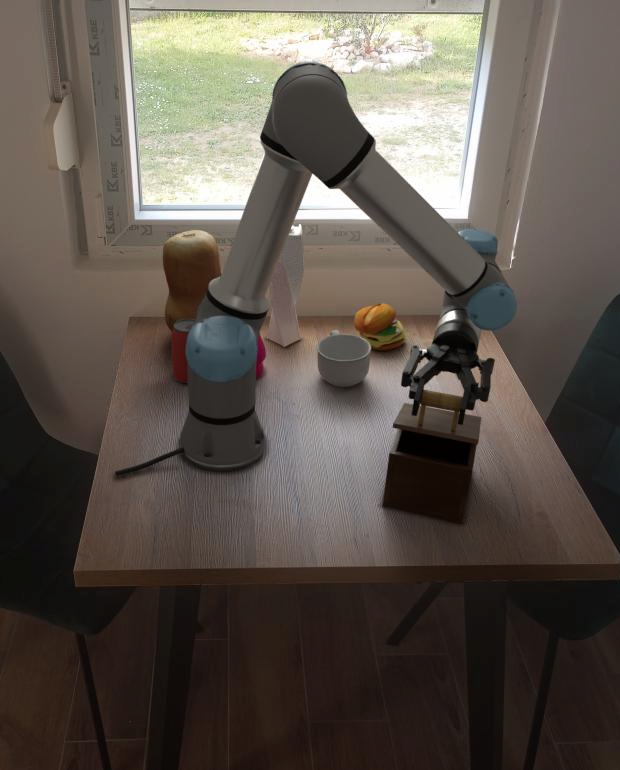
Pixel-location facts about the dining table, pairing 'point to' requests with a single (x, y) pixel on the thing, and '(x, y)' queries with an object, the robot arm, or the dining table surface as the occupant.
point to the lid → (439, 418)
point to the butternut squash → (188, 273)
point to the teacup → (343, 359)
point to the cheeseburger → (380, 327)
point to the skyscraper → (287, 290)
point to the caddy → (429, 475)
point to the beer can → (180, 348)
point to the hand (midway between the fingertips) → (438, 412)
